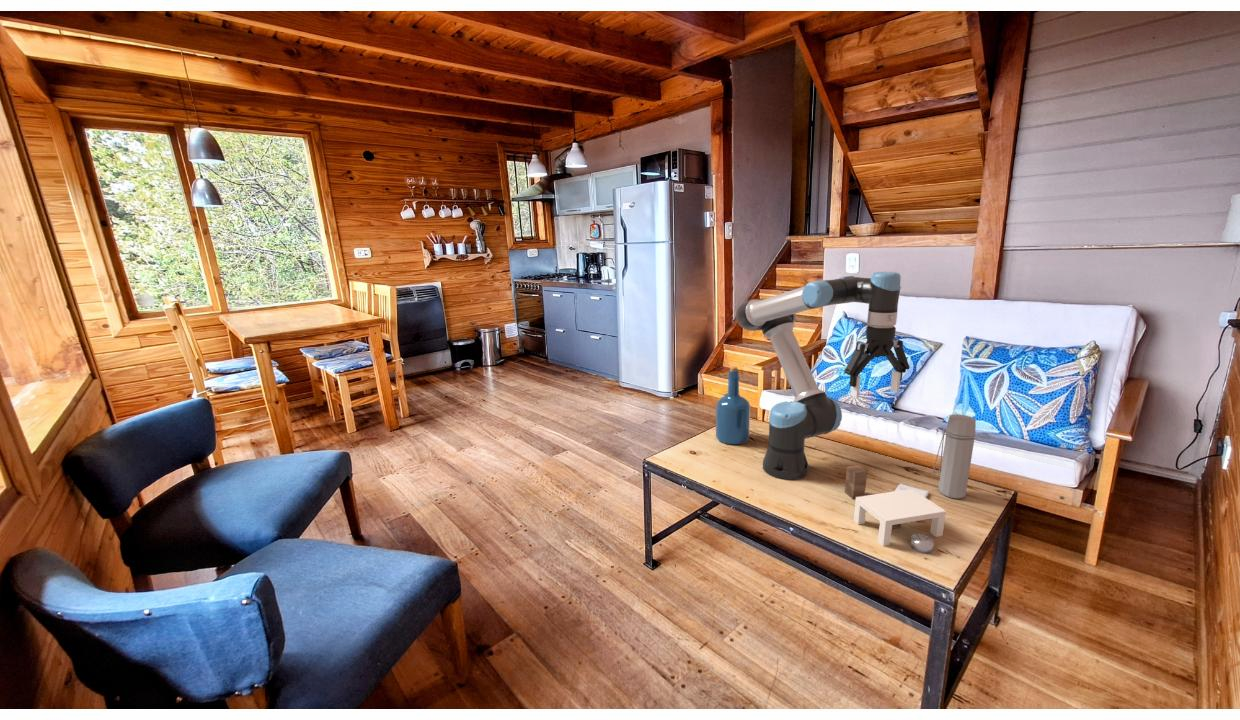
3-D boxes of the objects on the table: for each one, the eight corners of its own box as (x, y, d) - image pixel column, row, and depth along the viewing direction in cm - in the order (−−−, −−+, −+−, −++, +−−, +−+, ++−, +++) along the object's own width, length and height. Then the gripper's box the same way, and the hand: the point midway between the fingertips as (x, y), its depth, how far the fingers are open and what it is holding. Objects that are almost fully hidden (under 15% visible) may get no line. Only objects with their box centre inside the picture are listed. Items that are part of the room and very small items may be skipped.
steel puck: (905, 543, 129) (906, 535, 128) (922, 541, 129) (923, 532, 129) (919, 555, 124) (921, 547, 123) (937, 552, 125) (938, 544, 124)
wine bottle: (751, 445, 189) (754, 372, 182) (717, 445, 191) (718, 372, 183) (746, 431, 202) (748, 362, 195) (714, 431, 204) (714, 362, 196)
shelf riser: (853, 520, 139) (855, 497, 137) (908, 511, 142) (911, 488, 140) (883, 546, 128) (885, 521, 126) (942, 535, 131) (946, 511, 129)
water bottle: (968, 493, 151) (980, 417, 144) (962, 503, 145) (974, 425, 139) (934, 483, 157) (944, 410, 151) (927, 492, 152) (937, 417, 146)
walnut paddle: (844, 492, 154) (846, 466, 152) (856, 490, 155) (858, 465, 152) (890, 528, 135) (893, 499, 133) (902, 526, 136) (906, 498, 133)
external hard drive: (887, 503, 148) (898, 487, 156) (918, 513, 142) (928, 496, 151) (888, 499, 147) (899, 483, 156) (918, 508, 142) (929, 491, 151)
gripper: (851, 331, 137) (845, 402, 142) (928, 324, 141) (920, 393, 147) (835, 326, 144) (830, 394, 149) (909, 320, 148) (901, 386, 154)
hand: (874, 394), depth 148 cm, fingers open, 13 cm apart
